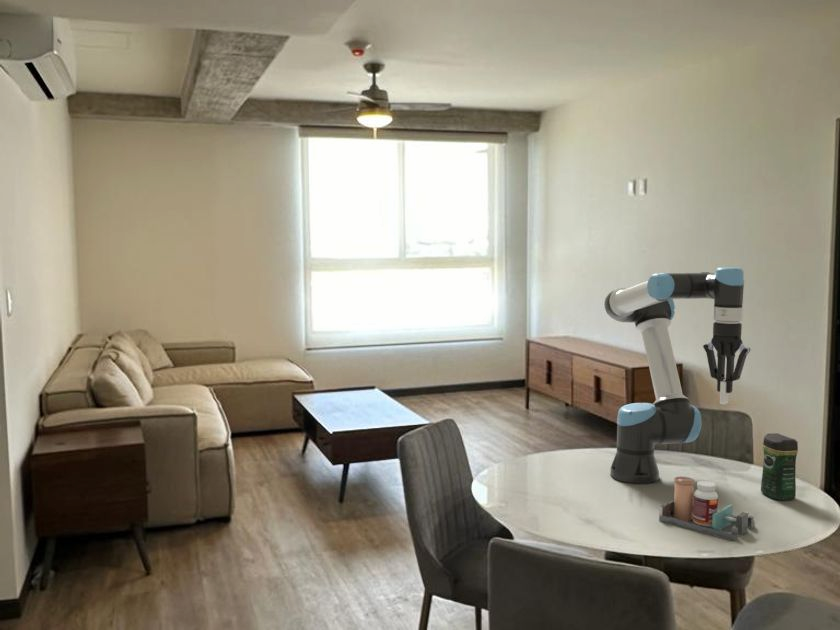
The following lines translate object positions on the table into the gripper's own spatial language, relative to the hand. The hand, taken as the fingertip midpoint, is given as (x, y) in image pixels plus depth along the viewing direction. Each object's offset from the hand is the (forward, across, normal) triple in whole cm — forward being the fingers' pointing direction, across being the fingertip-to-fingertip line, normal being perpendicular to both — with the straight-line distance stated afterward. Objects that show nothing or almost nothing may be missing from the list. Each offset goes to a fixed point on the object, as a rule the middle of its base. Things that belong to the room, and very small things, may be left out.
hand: (724, 403), depth 224 cm
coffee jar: (+30, +10, +18) cm, 36 cm away
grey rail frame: (+29, +4, -19) cm, 35 cm away
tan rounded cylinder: (+29, -2, -19) cm, 35 cm away
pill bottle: (+30, +4, -19) cm, 35 cm away
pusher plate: (+29, +11, -19) cm, 37 cm away
